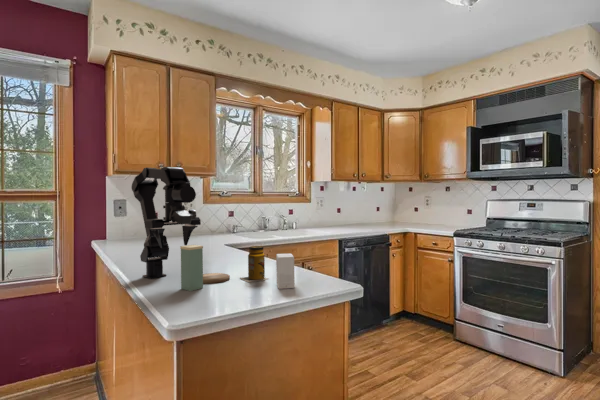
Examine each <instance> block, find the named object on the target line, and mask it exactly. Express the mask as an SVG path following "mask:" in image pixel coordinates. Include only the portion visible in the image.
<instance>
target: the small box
mask: <svg viewBox="0 0 600 400" xmlns="http://www.w3.org/2000/svg"><path fill="white" fill-rule="evenodd" d="M275 256H276V257H275V259H276V262H275V263H276V264H275V265H276V267H275V268H276V285H277V289H279V290H282V289H295V286H296V285H295V256H294V255H293V254H292V253H276V255H275Z"/></svg>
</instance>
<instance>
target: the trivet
mask: <svg viewBox="0 0 600 400" xmlns="http://www.w3.org/2000/svg"><path fill="white" fill-rule="evenodd" d="M230 279H231V277H230V275H229V274H228V273H223V272H209V273H203V285H205V284H206V285H207V284H209V285H212V284H213V285H214V284H221V283H224V282H228V281H229V280H230Z"/></svg>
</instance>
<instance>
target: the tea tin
mask: <svg viewBox="0 0 600 400" xmlns="http://www.w3.org/2000/svg"><path fill="white" fill-rule="evenodd" d="M179 248H180V285H181V286H180V288H181V289H180V290H186V291H189V292H192V291H196V290H200V289H203V288H204V284H203V274H204V272H203V271H204V269H203V268H204V266H203V265H204V261H203V256H204V255H203V254H204V253H203V251H204V250H203V249H204V246H203V245H199V244H189V245H188V244H187V245H182V246H179Z"/></svg>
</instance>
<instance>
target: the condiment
mask: <svg viewBox="0 0 600 400" xmlns="http://www.w3.org/2000/svg"><path fill="white" fill-rule="evenodd" d="M265 258H266V257H265V253H264V246H263V245H262V246H261V245H252V246H250V247H249V248H248V255H247V261H248V262H247V263H248V265H247V266H248V267H247V268H248V269H247V270H248V271H247V272H248V273H247V274H248V276H246V277H244V276H243V277H240V280H243V282H244V281H245V282H246V283H251V282H259V281H265V280H269V278H266V277H265V276H266V275H265V274H266V273H265V267H266V266H265Z"/></svg>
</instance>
